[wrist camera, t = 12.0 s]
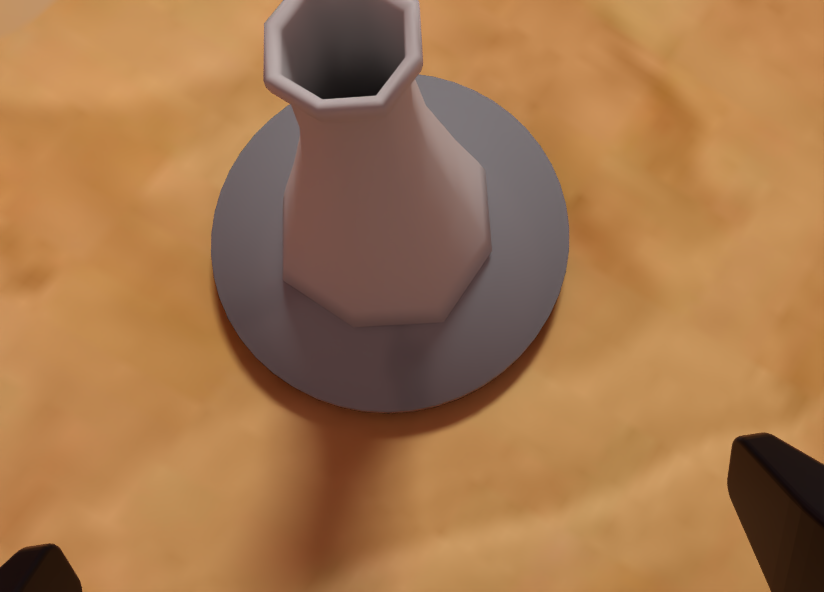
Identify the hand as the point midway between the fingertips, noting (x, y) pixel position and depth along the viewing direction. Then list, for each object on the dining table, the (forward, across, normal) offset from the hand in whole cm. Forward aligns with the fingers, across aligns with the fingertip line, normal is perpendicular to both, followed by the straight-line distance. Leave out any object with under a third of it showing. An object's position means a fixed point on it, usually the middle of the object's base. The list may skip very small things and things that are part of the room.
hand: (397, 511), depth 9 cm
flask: (+14, 0, +2) cm, 15 cm away
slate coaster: (+15, 0, +3) cm, 15 cm away
